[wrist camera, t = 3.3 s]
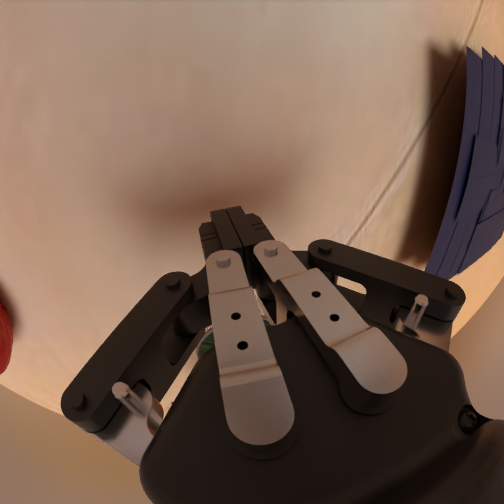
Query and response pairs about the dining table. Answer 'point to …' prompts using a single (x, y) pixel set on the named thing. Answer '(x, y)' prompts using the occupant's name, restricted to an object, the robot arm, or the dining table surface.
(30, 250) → the dining table surface
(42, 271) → the dining table surface
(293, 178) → the dining table surface
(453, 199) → the navy folded cloth
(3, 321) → the pomegranate
